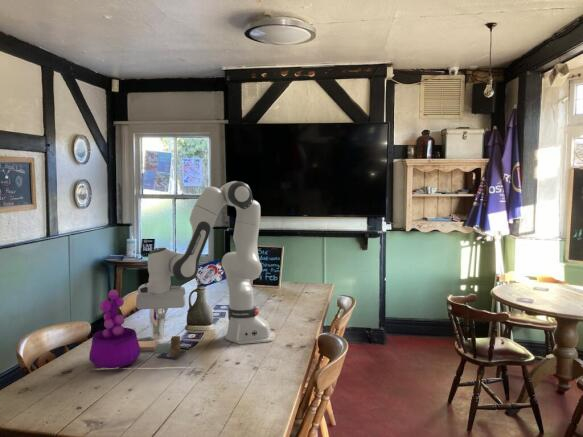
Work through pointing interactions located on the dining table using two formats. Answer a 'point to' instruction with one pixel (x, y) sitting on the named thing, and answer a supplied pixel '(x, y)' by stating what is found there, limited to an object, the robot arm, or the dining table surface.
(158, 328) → the beer glass
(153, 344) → the tile
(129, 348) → the decorative plant
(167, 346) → the mat
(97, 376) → the dining table surface
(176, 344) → the walnut block
